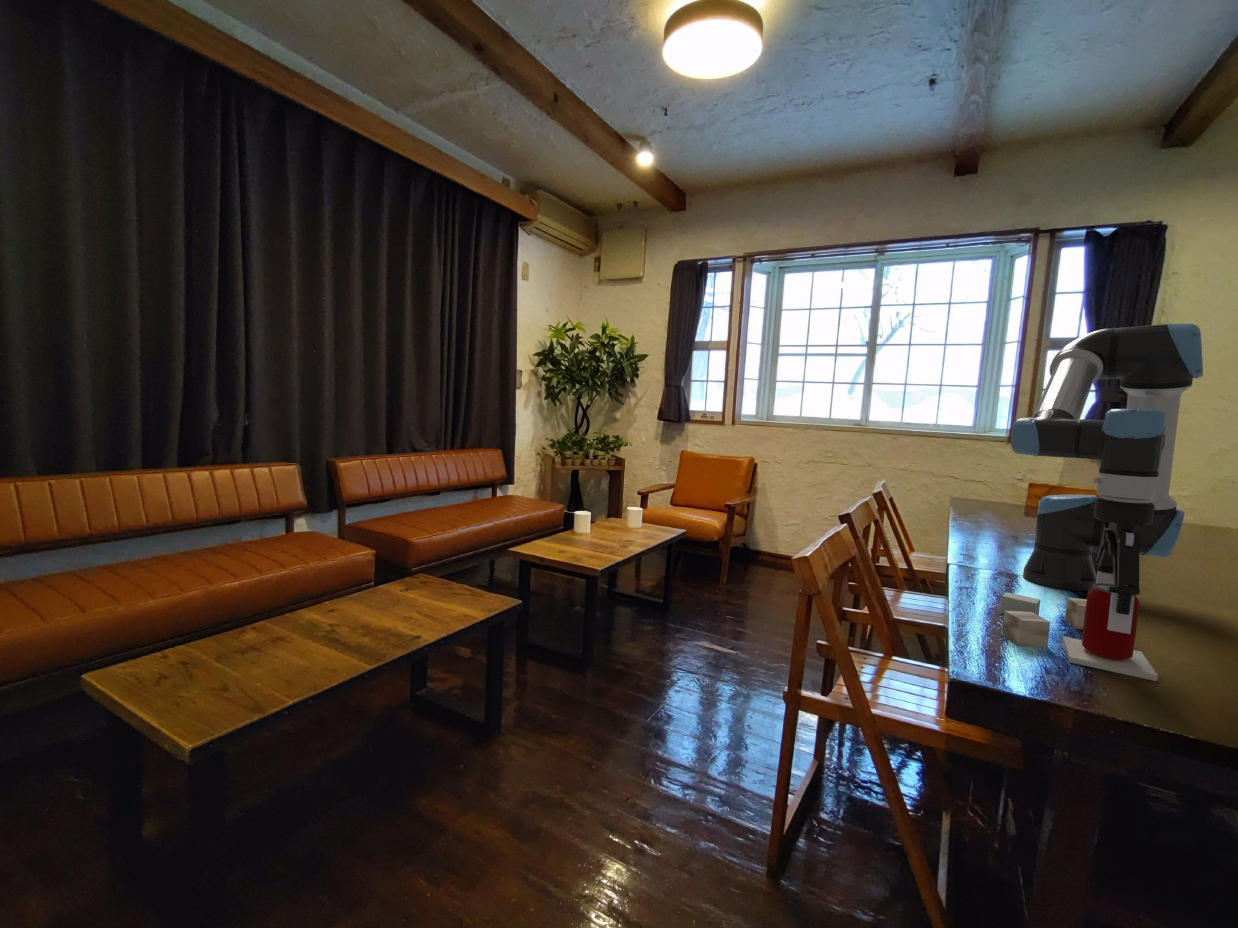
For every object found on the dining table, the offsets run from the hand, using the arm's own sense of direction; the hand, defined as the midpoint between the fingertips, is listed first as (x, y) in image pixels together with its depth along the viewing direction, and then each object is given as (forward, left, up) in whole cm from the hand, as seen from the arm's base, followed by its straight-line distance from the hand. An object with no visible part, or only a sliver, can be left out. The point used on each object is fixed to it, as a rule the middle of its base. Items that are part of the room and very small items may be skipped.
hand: (1110, 618), depth 95 cm
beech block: (-19, -1, -7) cm, 20 cm away
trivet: (0, 0, -7) cm, 7 cm away
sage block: (-18, -12, -7) cm, 22 cm away
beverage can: (0, 0, -7) cm, 7 cm away
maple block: (-1, -12, -7) cm, 14 cm away
